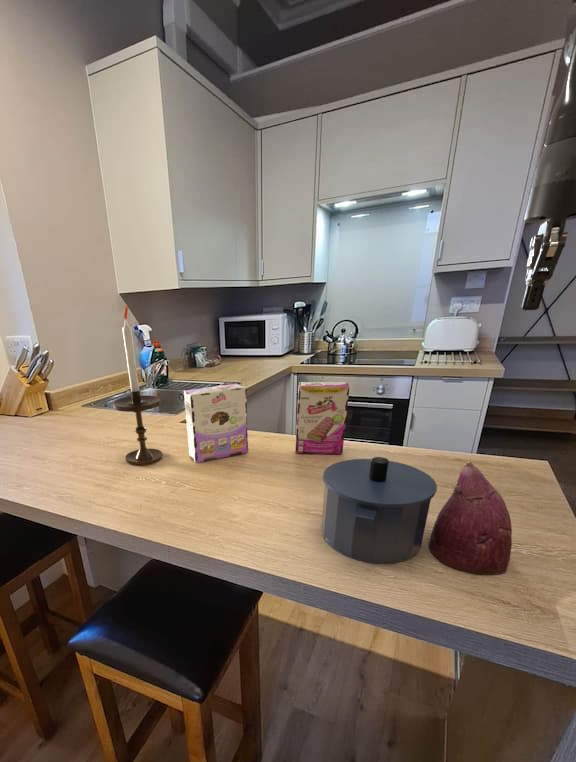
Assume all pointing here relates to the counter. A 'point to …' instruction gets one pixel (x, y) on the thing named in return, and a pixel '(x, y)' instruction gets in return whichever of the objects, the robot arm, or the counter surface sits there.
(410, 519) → the pot
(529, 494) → the counter surface
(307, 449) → the candy bar box
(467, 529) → the vegetable
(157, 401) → the candlestick
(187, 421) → the candy box
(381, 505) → the pot lid
